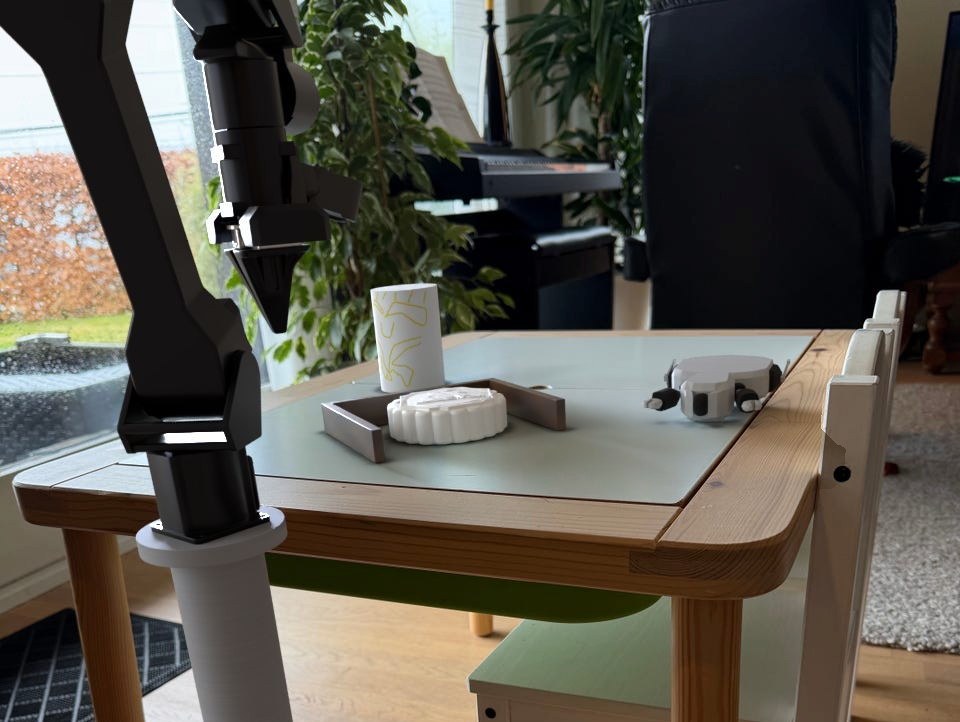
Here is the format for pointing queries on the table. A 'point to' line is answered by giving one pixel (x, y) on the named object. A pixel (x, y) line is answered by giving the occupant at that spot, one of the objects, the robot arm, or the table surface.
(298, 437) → the table surface
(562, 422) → the frame
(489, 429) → the mooncake
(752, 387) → the robot toy
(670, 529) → the table surface
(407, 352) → the cup
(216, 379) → the robot arm
